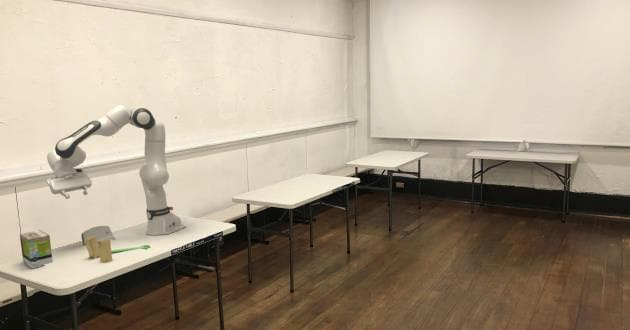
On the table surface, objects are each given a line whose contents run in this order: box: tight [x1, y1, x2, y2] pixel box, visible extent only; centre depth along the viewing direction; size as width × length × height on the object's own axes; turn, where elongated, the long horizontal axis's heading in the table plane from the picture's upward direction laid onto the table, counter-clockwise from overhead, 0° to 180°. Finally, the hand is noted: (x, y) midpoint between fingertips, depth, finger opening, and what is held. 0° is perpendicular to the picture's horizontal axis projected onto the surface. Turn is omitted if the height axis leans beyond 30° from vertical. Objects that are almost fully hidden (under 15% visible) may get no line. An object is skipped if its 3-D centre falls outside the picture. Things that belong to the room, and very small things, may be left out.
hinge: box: [81, 225, 116, 246], centre depth 279 cm, size 17×5×10 cm, turn 143°
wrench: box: [111, 244, 151, 253], centre depth 260 cm, size 25×2×5 cm
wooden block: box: [84, 236, 100, 259], centre depth 251 cm, size 4×4×10 cm
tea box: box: [19, 229, 54, 269], centre depth 249 cm, size 15×10×15 cm
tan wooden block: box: [98, 239, 113, 263], centre depth 245 cm, size 4×4×10 cm
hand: (77, 196), depth 261 cm, fingers open, 8 cm apart
